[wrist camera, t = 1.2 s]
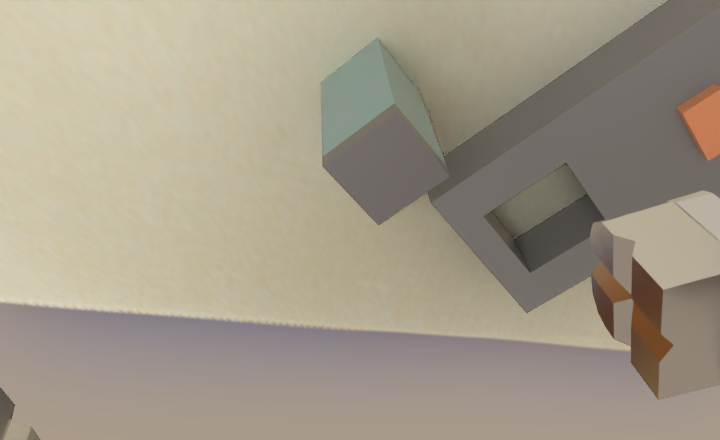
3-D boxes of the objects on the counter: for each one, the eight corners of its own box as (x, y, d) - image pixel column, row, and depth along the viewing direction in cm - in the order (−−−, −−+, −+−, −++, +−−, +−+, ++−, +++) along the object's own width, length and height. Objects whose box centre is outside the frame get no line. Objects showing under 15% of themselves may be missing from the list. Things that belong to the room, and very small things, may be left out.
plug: (377, 38, 39) (396, 111, 29) (419, 91, 41) (450, 176, 31) (320, 82, 40) (322, 166, 31) (364, 132, 42) (378, 225, 33)
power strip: (699, -22, 38) (745, -1, 34) (766, 123, 43) (813, 157, 39) (422, 172, 44) (432, 209, 40) (512, 278, 49) (529, 320, 45)
